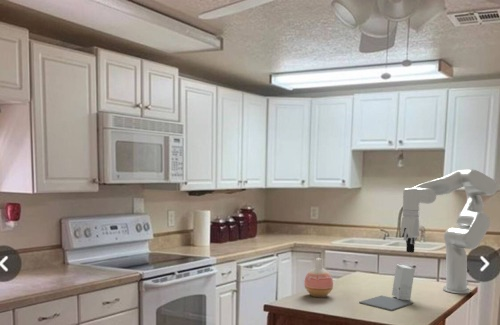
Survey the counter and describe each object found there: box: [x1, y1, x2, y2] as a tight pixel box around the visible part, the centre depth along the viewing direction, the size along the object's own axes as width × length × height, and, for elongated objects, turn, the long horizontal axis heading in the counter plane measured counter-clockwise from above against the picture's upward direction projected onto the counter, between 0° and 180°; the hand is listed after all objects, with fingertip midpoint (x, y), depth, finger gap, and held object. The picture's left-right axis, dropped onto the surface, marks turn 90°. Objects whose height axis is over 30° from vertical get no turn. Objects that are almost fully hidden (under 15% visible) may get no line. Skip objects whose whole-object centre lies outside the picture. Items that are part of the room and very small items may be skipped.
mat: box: [359, 295, 414, 312], centre depth 210 cm, size 18×16×1 cm
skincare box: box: [391, 264, 415, 302], centre depth 219 cm, size 8×6×15 cm
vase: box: [303, 257, 334, 298], centre depth 222 cm, size 14×14×18 cm
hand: (410, 252), depth 225 cm, fingers closed
